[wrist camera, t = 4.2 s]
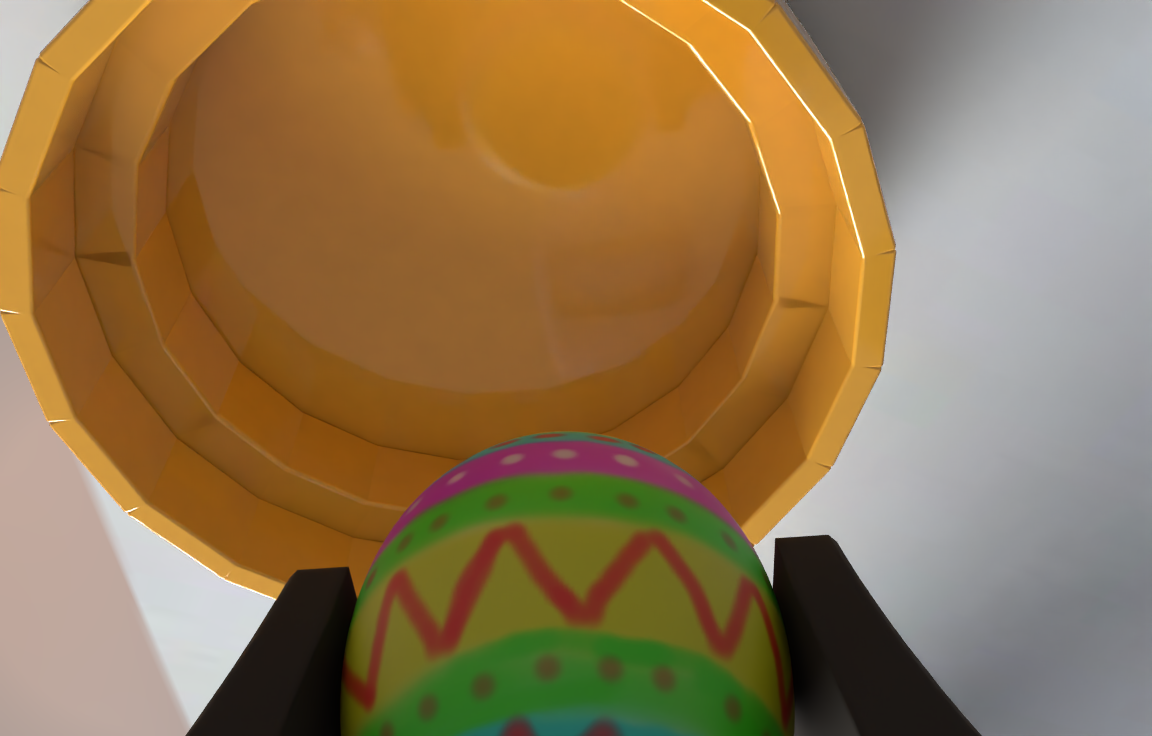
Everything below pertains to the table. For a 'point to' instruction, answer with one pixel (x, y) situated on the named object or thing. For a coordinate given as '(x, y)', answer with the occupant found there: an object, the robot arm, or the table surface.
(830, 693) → the robot arm
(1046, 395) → the table surface
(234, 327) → the bowl
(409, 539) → the egg
